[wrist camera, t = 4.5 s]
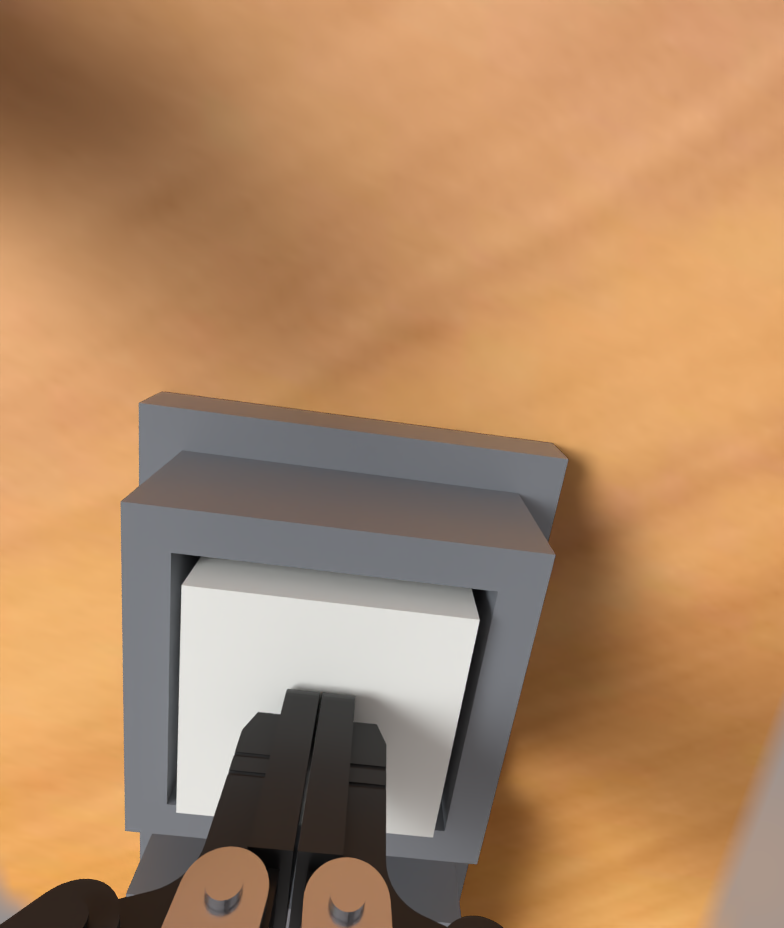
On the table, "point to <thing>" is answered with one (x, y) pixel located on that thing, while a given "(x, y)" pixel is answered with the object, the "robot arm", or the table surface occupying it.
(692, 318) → the table surface
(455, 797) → the key console
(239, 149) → the table surface
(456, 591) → the off-white key
